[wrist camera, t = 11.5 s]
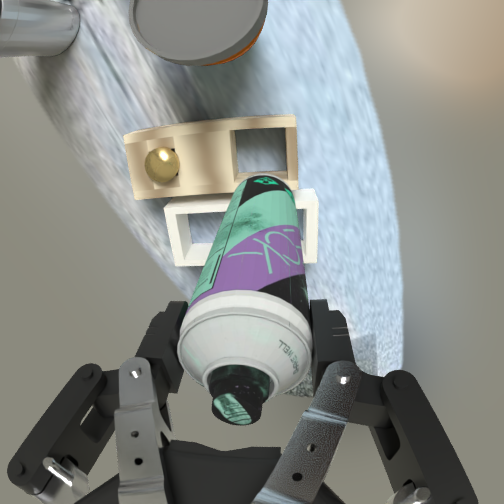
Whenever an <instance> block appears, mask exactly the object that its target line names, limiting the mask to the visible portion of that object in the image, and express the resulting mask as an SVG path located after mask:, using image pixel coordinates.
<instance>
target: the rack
mask: <svg viewBox="0 0 504 504" xmlns="http://www.w3.org/2000/svg"><path fill="white" fill-rule="evenodd" d="M292 192H293V195H294V198H295V204H296V209H303V240H301V246H302V253H303V261H304V263H317V244H318V198H317V196H316V193H315V191H314V189H298V190H292ZM233 194H234V192H231V193H214V194H199V195H186V196H174V197H173V198H172V199H171V200H170V201H169V203H168V204H167V205H166V206H165V207H164V212H165V218H166V223H167V228H168V233H169V237H170V242H171V247H172V252H173V256H174V261H175V265H176V266H204V265H205V263H206V260H207V257H208V255H209V252H210V250H211V247H212V245H213V243H195V244H192V238H191V233H190V227H189V221H188V215H187V214H188V213H206V212H225V211H227V208H228V206H229V203H230V201H231V199H232V196H233Z"/></svg>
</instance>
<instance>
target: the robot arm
mask: <svg viewBox="0 0 504 504" xmlns="http://www.w3.org/2000/svg"><path fill="white" fill-rule="evenodd" d="M79 22H80V18H79V13H78V11H77V10H76V8H74V7H73V6H71V5H67V4H63V3H59V2H55V1H51V0H0V58H1V57H20V56H56V55H58V54H60V53H62V52H63V51H65V50H66V49H67V48H68V47H69V45H70V44H71V43H72V42H73V40H74V38H75V36H76V34H77V32H78V28H79ZM188 307H189V306H188V303H187V302H186V301H170V303H169V304H168V307H167V309H166V311H165V312H159V313H158V314H157V315H156V316H155V317H154V318H153V319H152V321H151V323H150V326H149V328H148V330H147V332H146V335H145V336H144V338H143V340H142V342H141V345H140V347H139V349H138V351H137V353H136V355H135V357H134V358H130V359H128V360H126V361H125V362H124V363H123V364H122V365H121V366H120V368H119V369H117V370H110V371H102V370H101V368H100V366H98V365H96V364H92V363H91V364H86V365H84V366H82V367H80V368H79V369H78V370H77V371H76V372H75V374H74V375H73V376H72V378H71V379H70V380H69V381H68V383H67V384H66V385H65V387H64V388H63V389H62V390H61V392H60V393H59V394H58V396H57V397H56V398H55V400H54V401H53V402H52V404H51V405H50V406H49V408H48V409H47V410H46V412H45V413H44V414H43V416H42V417H41V418H40V420H39V421H38V423H37V424H36V425H35V427H34V428H33V429H32V431H31V432H30V434H29V435H28V437H27V438H26V439H25V441H24V442H23V443H22V445H21V446H20V448H19V449H18V451H17V452H16V453H15V455H14V456H13V458H12V459H11V461H10V462H9V465H8V469H7V473H8V477H9V479H10V481H11V482H12V483H13V484H15V485H16V486H18V487H19V488H21V489H22V490H24V491H25V492H26V493H27V494H29V495H30V496H32V497H34V498H35V499H37V500H39V501H41V502H42V503H44V504H345V503H344V502H343V501H342V500H341V499H340V498H339V497H338V496H337V495H336V494H335V493H334V492H333V491H332V490H331V489H330V488H329V487H328V486H327V485H326V484H325V483H324V479H325V477H326V475H327V473H328V470H329V468H330V466H331V463H332V461H333V458H334V456H335V453H336V451H337V448H338V446H339V444H340V441H341V438H342V436H343V433H344V430H345V428H346V425H347V422H350V423H356V424H361V425H367V426H369V428H370V431H371V434H372V436H373V438H374V441H375V444H376V446H377V449H378V452H379V454H380V456H381V459H382V462H383V464H384V467H385V470H386V472H387V475H388V477H389V480H390V483H391V486H392V488H393V491H394V495H393V496H391V497H390V498H389V499H388V501H387V502H386V504H478V499H477V497H476V495H475V493H474V490H473V488H472V486H471V483H470V481H469V479H468V477H467V475H466V473H465V471H464V469H463V466H462V464H461V462H460V460H459V458H458V457H457V454H456V452H455V450H454V448H453V446H452V444H451V443H450V440H449V438H448V436H447V435H446V433H445V431H444V429H443V427H442V425H441V423H440V421H439V419H438V418H437V416H436V414H435V412H434V410H433V408H432V407H431V405H430V403H429V401H428V399H427V398H426V396H425V394H424V392H423V390H422V389H421V387H420V385H419V384H418V382H417V380H416V378H415V377H414V376H413V375H412V374H411V373H409V372H406V371H403V370H394V371H391V372H389V373H388V374H387V375H386V376H385V377H380V376H374V375H369V374H367V373H365V372H363V371H362V370H360V368H359V367H358V366H357V365H356V363H355V359H354V354H353V350H352V345H351V341H350V336H349V332H348V328H347V323H346V319H345V317H344V316H343V315H342V313H341V312H340V311H339V310H333V311H329V308H328V303H327V299H321V300H310V310H309V312H310V321H311V331H312V354H311V359H312V361H311V370H312V385H313V397H314V398H313V400H312V403H311V405H310V407H309V409H308V410H305V412H304V413H303V415H302V417H301V419H300V421H299V423H298V425H297V427H296V429H295V431H294V433H293V435H292V437H291V439H290V440H289V442H288V444H287V446H286V448H285V450H284V452H283V454H281V447H248V448H243V449H236V450H230V451H220V450H216V449H213V448H210V447H207V446H204V445H202V444H198V443H195V442H186V441H179V440H176V437H175V433H174V429H173V424H172V419H171V414H170V409H169V404H168V401H167V397H168V393H177V392H178V389H179V386H180V382H181V379H182V375H183V372H184V369H183V367H182V365H181V363H180V361H179V358H178V354H177V345H178V342H179V339H180V329H181V326H182V323H183V320H184V317H185V315H186V312H187V309H188ZM91 406H93V408H92V410H91V411H90V413H89V414H88V416H87V417H86V418H85V420H84V421H83V423H82V424H81V426H80V423H81V420H82V419H83V417H84V416H85V414H86V413H87V411H88V410H89V408H90V407H91ZM114 431H115V435H116V449H117V459H118V469H119V473H118V474H117V475H115V476H114V477H112V478H111V479H109V480H108V481H107V482H105V483H104V484H102V485H101V486H99V487H98V488H96V489H95V490H93V491H92V492H90V493H89V494H87V493H88V492H89V490H90V488H89V485H88V478H87V475H88V474H89V472H90V470H91V469H92V467H93V465H94V464H95V462H96V460H97V459H98V457H99V455H100V454H101V452H102V450H103V449H104V447H105V445H106V444H107V442H108V441H109V439H110V437H111V436H112V434H113V432H114ZM86 494H87V495H86Z"/></svg>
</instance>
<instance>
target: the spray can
mask: <svg viewBox="0 0 504 504" xmlns="http://www.w3.org/2000/svg"><path fill="white" fill-rule="evenodd" d="M177 354H178V358H179V361H180V363H181V365H182V367H183V369H184V370H185V371H186V372H187V374H188V375H189V376H190V377H191V378H192V379H193V380H195V381H196V382H197V383H199V384H200V385H202V386H203V387H205V389H206V390H207V391H208V392H209V393H210V394H211V395H212V397H213V401H212V412H213V414H214V415H215V416H216V417H217V418H218V419H220V420H221V421H224V422H226V423H229V424H232V425H249V424H253V423H255V422H256V421H258V420H259V419H260V417H261V411H262V404H263V403H264V402H266V401H268V400H270V399H272V398H273V397H274V396H277V395H280V394H283V393H285V392H287V391H289V390H291V389H293V388H294V387H296V386H297V385H298V384H300V383H301V382H302V381H303V379H304V378H305V377H306V376H307V374H308V372H309V370H310V367H311V361H312V359H311V354H312V331H311V321H310V312H309V302H308V293H307V285H306V277H305V269H304V261H303V253H302V246H301V238H300V231H299V224H298V217H297V211H296V204H295V198H294V195H293V192H292V190H291V188H290V187H289V185H288V184H287V183H286V182H285V181H284V180H282V179H281V178H279V177H277V176H275V175H272V174H267V173H260V174H254V175H252V176H249V177H247V178H246V179H244V180H243V181H242V182H241V183H240V184H239V185H238V187H237V188H236V190H235V191H234V194H233V196H232V199H231V201H230V203H229V206H228V208H227V211H226V213H225V215H224V218H223V220H222V223H221V225H220V228H219V230H218V233H217V235H216V237H215V240H214V242H213V245H212V247H211V250H210V252H209V255H208V257H207V260H206V263H205V265H204V268H203V270H202V273H201V275H200V278H199V280H198V283H197V286H196V288H195V291H194V293H193V296H192V299H191V301H190V304H189V307H188V309H187V312H186V315H185V317H184V320H183V323H182V326H181V329H180V339H179V342H178V345H177Z"/></svg>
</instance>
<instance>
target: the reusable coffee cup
mask: <svg viewBox="0 0 504 504" xmlns="http://www.w3.org/2000/svg"><path fill="white" fill-rule="evenodd" d="M267 8H268V0H130V6H129V22H130V25H131V28H132V31H133V33H134V35H135V37H136V38H137V40H138V41H139V42H140V43H141V44H142V45H143V46H144V47H145V48H146V49H148V50H149V51H151V52H153V53H154V54H156V55H158V56H159V57H161V58H163V59H164V60H167V61H169V62H172V63H175V64H180V65H186V66H208V65H215V64H222V63H226V62H229V61H232V60H234V59H236V58H238V57H240V56H242V55H243V54H244V53H245V52H247V51H248V50H249V49H250V48H251V47H252V46H253V45H254V43H255V42H256V40H257V38H258V37H259V35H260V33H261V31H262V28H263V25H264V22H265V18H266V15H267Z"/></svg>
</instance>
